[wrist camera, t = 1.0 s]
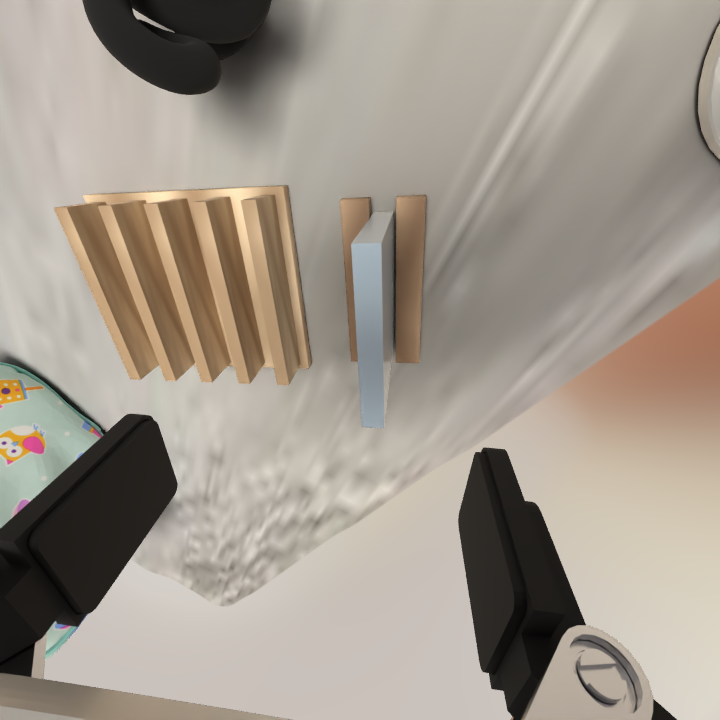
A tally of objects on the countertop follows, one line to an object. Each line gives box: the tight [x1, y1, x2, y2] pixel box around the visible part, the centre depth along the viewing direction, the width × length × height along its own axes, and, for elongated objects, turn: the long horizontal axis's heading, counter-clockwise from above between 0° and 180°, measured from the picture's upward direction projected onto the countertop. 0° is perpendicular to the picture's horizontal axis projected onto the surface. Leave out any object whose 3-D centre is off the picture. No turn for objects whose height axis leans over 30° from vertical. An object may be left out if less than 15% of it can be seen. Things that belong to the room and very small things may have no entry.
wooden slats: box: [340, 195, 426, 363], centre depth 28 cm, size 6×13×1 cm, turn 2°
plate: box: [351, 211, 394, 428], centre depth 23 cm, size 1×11×11 cm, turn 2°
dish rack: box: [54, 185, 311, 385], centre depth 28 cm, size 16×15×4 cm
